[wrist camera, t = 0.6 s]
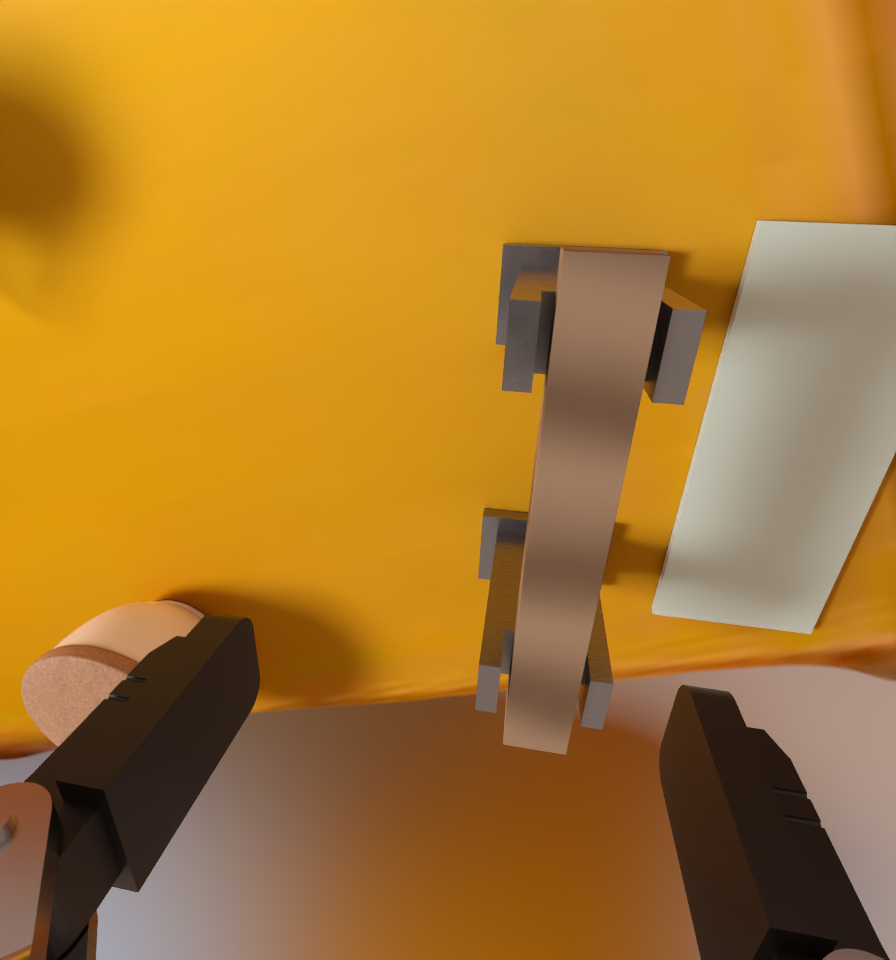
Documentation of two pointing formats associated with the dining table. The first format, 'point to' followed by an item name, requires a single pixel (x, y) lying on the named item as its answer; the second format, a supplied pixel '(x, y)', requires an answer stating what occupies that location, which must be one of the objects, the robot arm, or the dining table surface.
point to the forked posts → (505, 531)
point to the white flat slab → (789, 430)
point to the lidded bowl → (98, 661)
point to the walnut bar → (578, 477)
